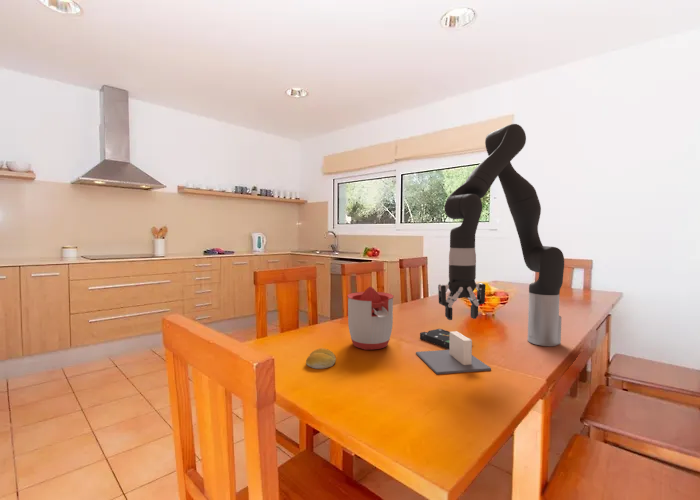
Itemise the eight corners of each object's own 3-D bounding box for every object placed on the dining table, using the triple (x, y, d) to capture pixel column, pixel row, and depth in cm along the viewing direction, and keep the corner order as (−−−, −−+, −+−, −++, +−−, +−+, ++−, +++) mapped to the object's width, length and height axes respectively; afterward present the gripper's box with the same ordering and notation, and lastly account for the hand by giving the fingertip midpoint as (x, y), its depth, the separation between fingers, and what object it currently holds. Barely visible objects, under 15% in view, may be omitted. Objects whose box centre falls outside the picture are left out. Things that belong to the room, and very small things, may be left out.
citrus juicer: (360, 357, 107) (360, 292, 106) (340, 340, 123) (340, 284, 122) (404, 350, 113) (405, 289, 112) (380, 335, 129) (380, 282, 128)
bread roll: (303, 369, 99) (303, 355, 98) (312, 357, 107) (311, 345, 107) (331, 371, 97) (331, 357, 97) (338, 359, 106) (338, 346, 106)
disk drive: (419, 340, 125) (451, 351, 113) (419, 332, 125) (451, 343, 113) (439, 335, 131) (472, 345, 119) (439, 328, 131) (472, 337, 118)
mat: (463, 350, 113) (463, 348, 113) (491, 370, 97) (491, 368, 97) (415, 353, 110) (415, 351, 110) (436, 374, 94) (436, 372, 94)
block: (457, 353, 108) (457, 331, 108) (471, 364, 99) (472, 340, 99) (449, 354, 108) (449, 331, 108) (463, 365, 99) (463, 340, 99)
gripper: (478, 261, 107) (477, 314, 108) (433, 262, 105) (433, 317, 106) (491, 263, 100) (490, 321, 101) (444, 265, 97) (444, 323, 98)
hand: (461, 318), depth 103 cm, fingers open, 7 cm apart
